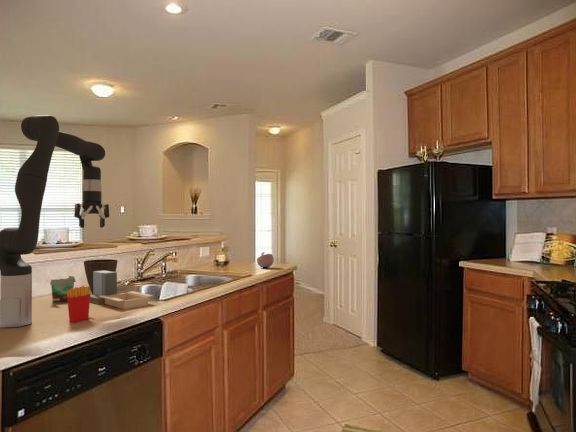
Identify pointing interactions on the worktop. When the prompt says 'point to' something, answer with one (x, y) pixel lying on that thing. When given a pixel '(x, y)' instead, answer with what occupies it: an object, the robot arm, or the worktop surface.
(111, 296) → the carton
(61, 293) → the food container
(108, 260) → the plant pot
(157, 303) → the worktop surface
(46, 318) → the worktop surface
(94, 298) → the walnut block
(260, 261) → the apple
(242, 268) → the worktop surface
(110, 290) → the slim box
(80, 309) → the french fries
